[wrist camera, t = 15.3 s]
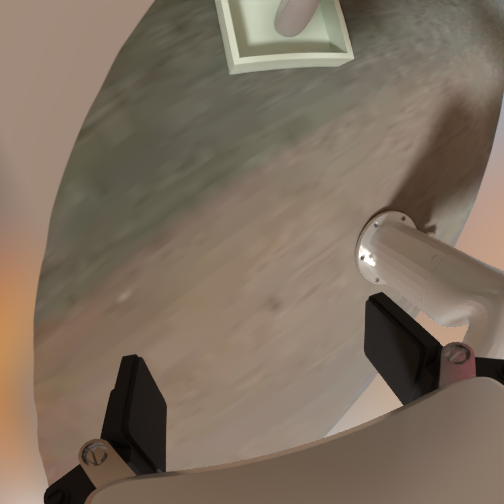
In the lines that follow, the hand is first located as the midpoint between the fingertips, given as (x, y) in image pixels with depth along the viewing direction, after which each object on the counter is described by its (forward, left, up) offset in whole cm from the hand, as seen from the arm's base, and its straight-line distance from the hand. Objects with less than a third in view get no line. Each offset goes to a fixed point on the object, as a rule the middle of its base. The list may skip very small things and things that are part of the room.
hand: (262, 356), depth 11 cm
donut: (-14, -25, -30) cm, 42 cm away
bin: (-13, -25, -30) cm, 41 cm away
